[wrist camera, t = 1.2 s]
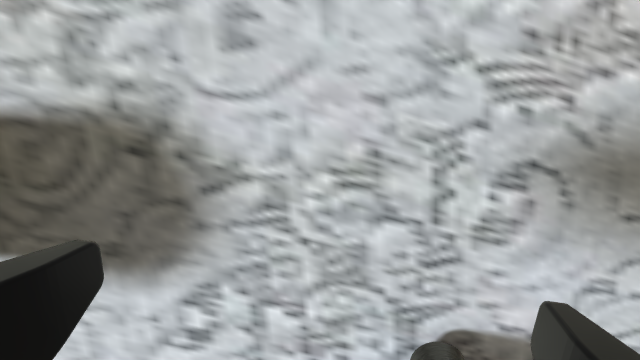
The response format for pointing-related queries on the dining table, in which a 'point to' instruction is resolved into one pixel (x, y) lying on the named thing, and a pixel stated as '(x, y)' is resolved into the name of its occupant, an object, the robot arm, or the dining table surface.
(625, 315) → the dining table surface
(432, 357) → the handwheel crank
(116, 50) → the dining table surface
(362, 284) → the dining table surface
